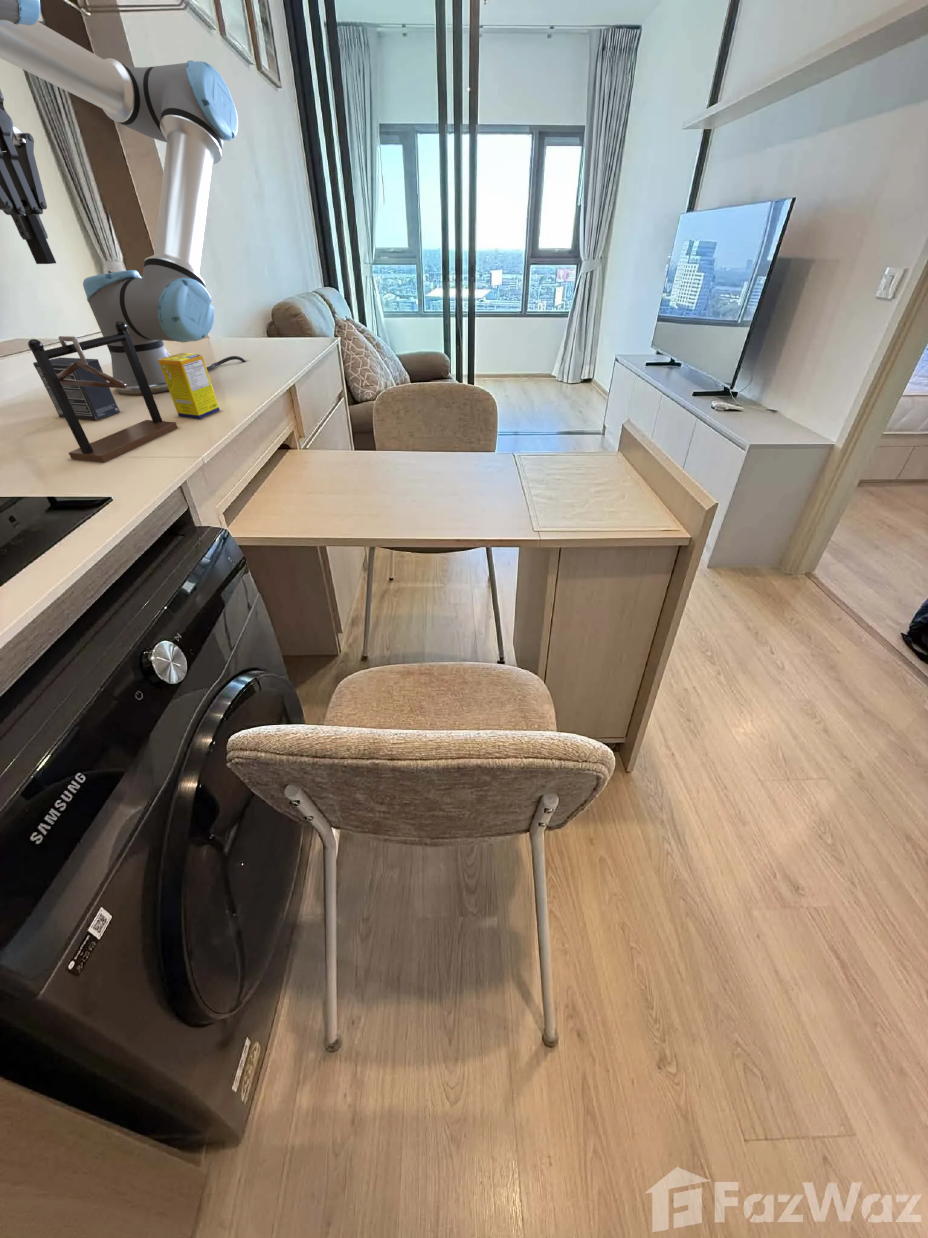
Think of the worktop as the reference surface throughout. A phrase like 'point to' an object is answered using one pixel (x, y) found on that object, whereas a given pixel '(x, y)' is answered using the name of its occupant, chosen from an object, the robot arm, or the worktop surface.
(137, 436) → the clothes rail
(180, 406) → the supplement box
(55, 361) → the small box
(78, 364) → the hanger
